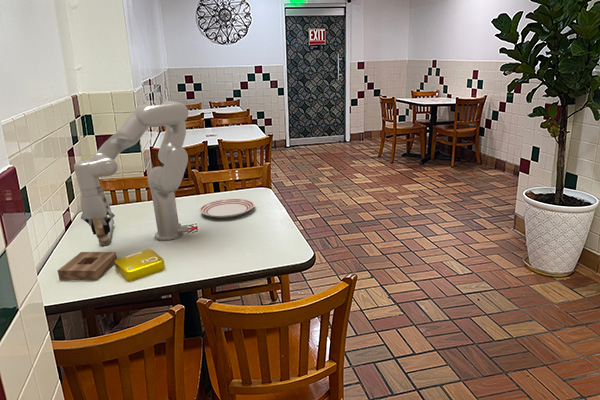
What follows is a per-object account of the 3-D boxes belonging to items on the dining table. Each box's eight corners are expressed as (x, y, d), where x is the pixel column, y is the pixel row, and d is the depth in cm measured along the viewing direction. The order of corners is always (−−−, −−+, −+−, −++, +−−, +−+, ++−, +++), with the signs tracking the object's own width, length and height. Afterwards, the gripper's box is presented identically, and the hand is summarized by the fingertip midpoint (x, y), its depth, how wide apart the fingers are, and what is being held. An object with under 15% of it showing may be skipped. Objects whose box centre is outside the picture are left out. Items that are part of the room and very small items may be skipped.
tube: (111, 237, 203) (115, 217, 225) (98, 235, 201) (103, 216, 223) (109, 248, 204) (113, 228, 226) (96, 246, 202) (101, 226, 225)
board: (117, 261, 188) (116, 251, 187) (97, 280, 173) (95, 270, 172) (83, 260, 190) (81, 252, 188) (59, 280, 175) (57, 270, 173)
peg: (112, 239, 196) (105, 213, 191) (106, 244, 191) (99, 217, 187) (102, 240, 196) (95, 213, 192) (96, 244, 192) (89, 218, 188)
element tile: (152, 257, 190) (150, 246, 189) (167, 270, 179) (165, 258, 177) (114, 269, 182) (112, 258, 180) (128, 283, 170) (125, 271, 169)
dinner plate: (206, 204, 251) (206, 198, 250) (257, 202, 249) (257, 196, 248) (194, 223, 225) (193, 216, 224) (250, 221, 223) (250, 214, 222)
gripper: (115, 187, 188) (125, 228, 195) (76, 189, 191) (87, 230, 197) (106, 193, 181) (116, 236, 188) (66, 195, 184) (78, 237, 190)
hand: (101, 232), depth 192 cm, fingers closed on peg, 4 cm apart
